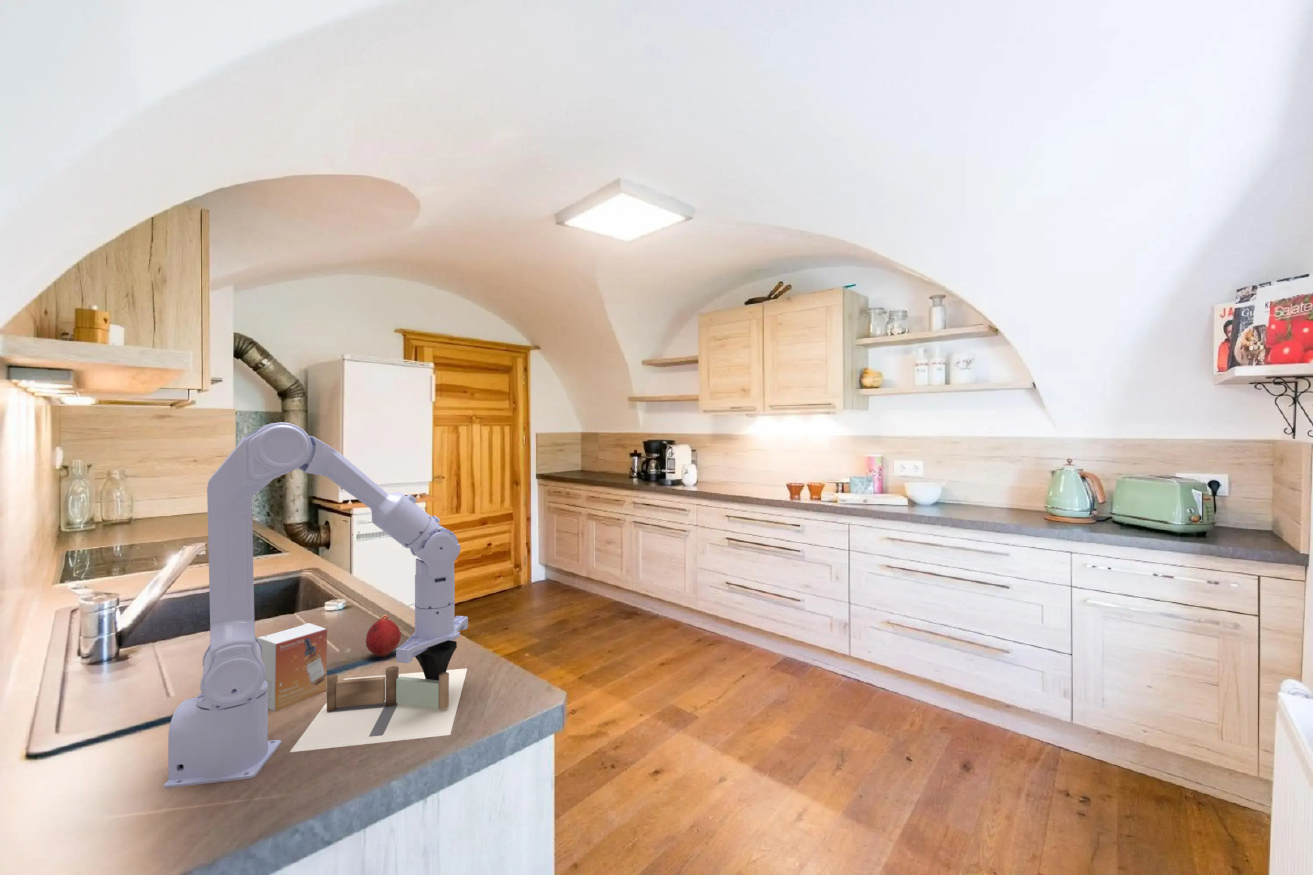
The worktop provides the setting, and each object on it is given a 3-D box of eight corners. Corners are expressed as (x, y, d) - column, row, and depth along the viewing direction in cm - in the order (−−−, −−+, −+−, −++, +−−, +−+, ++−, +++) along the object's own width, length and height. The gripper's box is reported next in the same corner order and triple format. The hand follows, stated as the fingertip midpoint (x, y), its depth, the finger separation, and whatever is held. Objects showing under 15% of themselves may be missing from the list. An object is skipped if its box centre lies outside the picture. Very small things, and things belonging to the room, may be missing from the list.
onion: (375, 666, 100) (375, 622, 99) (360, 658, 103) (360, 615, 103) (406, 656, 104) (406, 614, 104) (390, 648, 108) (391, 607, 108)
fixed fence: (324, 712, 83) (325, 676, 82) (329, 707, 84) (329, 671, 84) (396, 706, 85) (397, 670, 85) (399, 700, 87) (399, 665, 86)
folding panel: (395, 703, 85) (395, 671, 84) (401, 699, 86) (401, 667, 86) (445, 709, 83) (445, 676, 83) (450, 704, 84) (450, 672, 84)
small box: (274, 713, 83) (274, 644, 83) (255, 704, 86) (255, 636, 85) (328, 692, 90) (328, 627, 90) (309, 683, 93) (309, 621, 92)
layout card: (289, 754, 72) (289, 751, 72) (344, 680, 94) (344, 678, 94) (450, 736, 77) (450, 734, 77) (467, 669, 98) (467, 667, 98)
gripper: (425, 621, 77) (425, 717, 77) (484, 592, 91) (483, 673, 91) (383, 616, 79) (383, 710, 79) (447, 588, 93) (447, 668, 93)
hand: (434, 690), depth 85 cm, fingers closed
